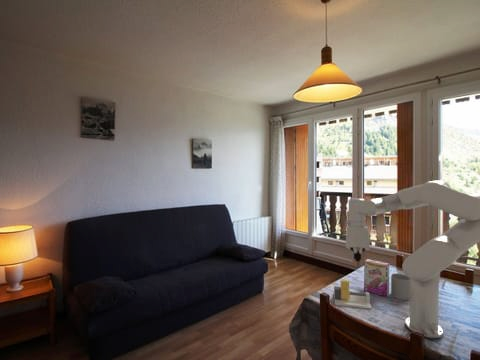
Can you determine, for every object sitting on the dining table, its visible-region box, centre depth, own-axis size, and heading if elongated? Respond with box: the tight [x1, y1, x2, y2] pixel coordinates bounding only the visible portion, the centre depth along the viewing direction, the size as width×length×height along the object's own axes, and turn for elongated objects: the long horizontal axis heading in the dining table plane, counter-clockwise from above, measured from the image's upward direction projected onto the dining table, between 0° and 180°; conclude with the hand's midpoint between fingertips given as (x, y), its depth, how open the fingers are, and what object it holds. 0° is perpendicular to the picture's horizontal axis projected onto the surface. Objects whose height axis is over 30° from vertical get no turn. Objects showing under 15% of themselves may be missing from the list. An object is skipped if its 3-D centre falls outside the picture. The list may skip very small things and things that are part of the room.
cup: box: [390, 273, 410, 301], centre depth 130 cm, size 8×8×10 cm
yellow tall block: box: [339, 279, 351, 299], centre depth 126 cm, size 4×4×8 cm
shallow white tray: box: [333, 285, 373, 310], centre depth 126 cm, size 11×16×6 cm
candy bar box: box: [363, 258, 390, 298], centre depth 134 cm, size 11×5×16 cm, turn 47°
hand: (357, 260), depth 124 cm, fingers closed
